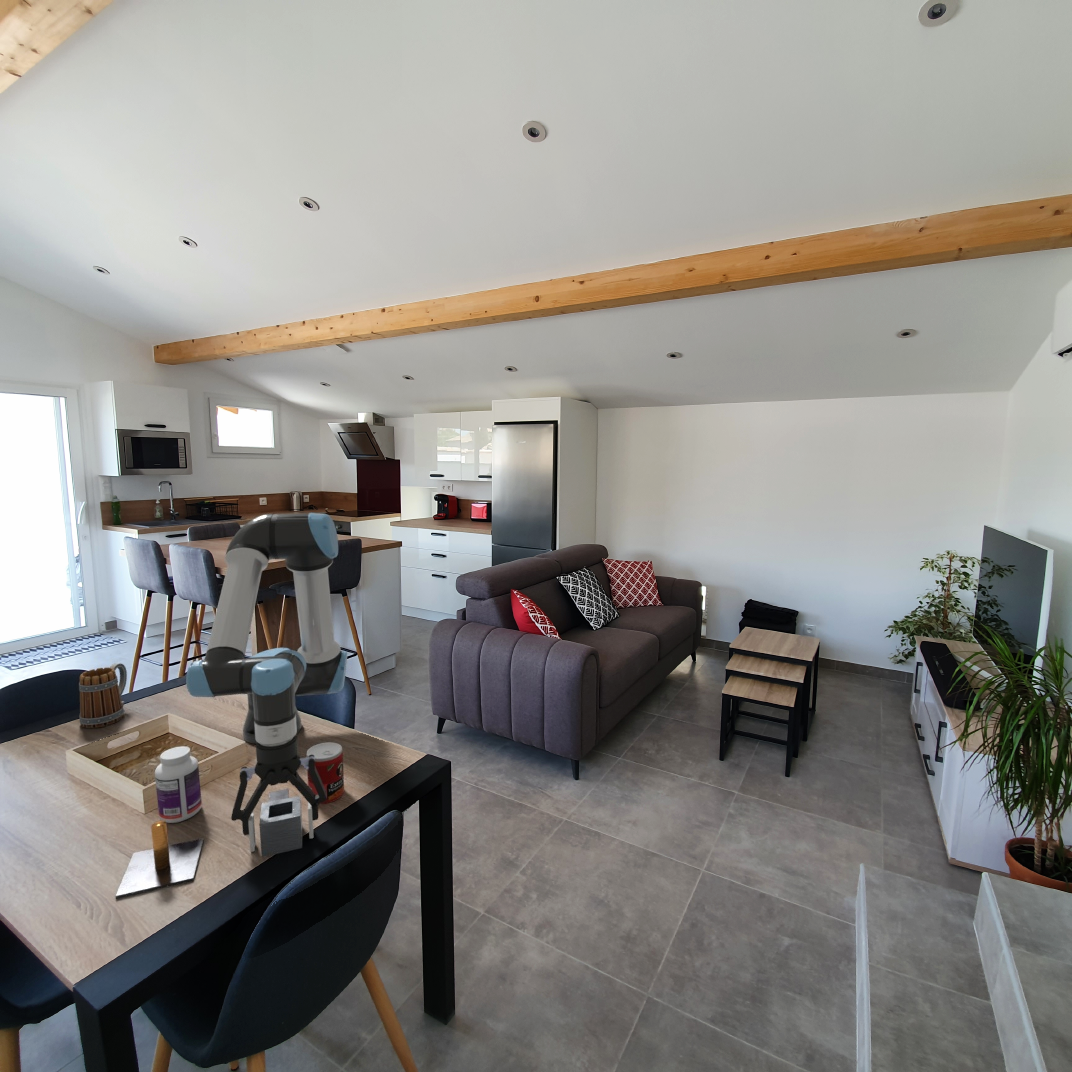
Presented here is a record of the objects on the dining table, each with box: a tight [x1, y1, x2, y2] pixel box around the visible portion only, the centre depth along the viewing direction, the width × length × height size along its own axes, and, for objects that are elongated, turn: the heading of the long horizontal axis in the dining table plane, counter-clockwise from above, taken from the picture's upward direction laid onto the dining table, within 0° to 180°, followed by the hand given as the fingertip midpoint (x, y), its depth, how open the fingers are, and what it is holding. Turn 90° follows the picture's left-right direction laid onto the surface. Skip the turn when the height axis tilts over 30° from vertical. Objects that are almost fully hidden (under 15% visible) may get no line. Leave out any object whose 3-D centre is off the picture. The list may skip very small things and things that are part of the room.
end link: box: [259, 795, 303, 858], centre depth 117 cm, size 7×7×7 cm
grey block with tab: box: [267, 788, 290, 802], centre depth 126 cm, size 10×4×3 cm, turn 22°
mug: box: [78, 662, 128, 729], centre depth 171 cm, size 16×11×15 cm
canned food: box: [306, 741, 345, 804], centre depth 133 cm, size 8×8×11 cm
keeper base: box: [115, 820, 204, 900], centre depth 109 cm, size 12×12×9 cm
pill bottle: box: [154, 746, 203, 824], centre depth 125 cm, size 8×8×14 cm
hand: (282, 840), depth 117 cm, fingers open, 10 cm apart
